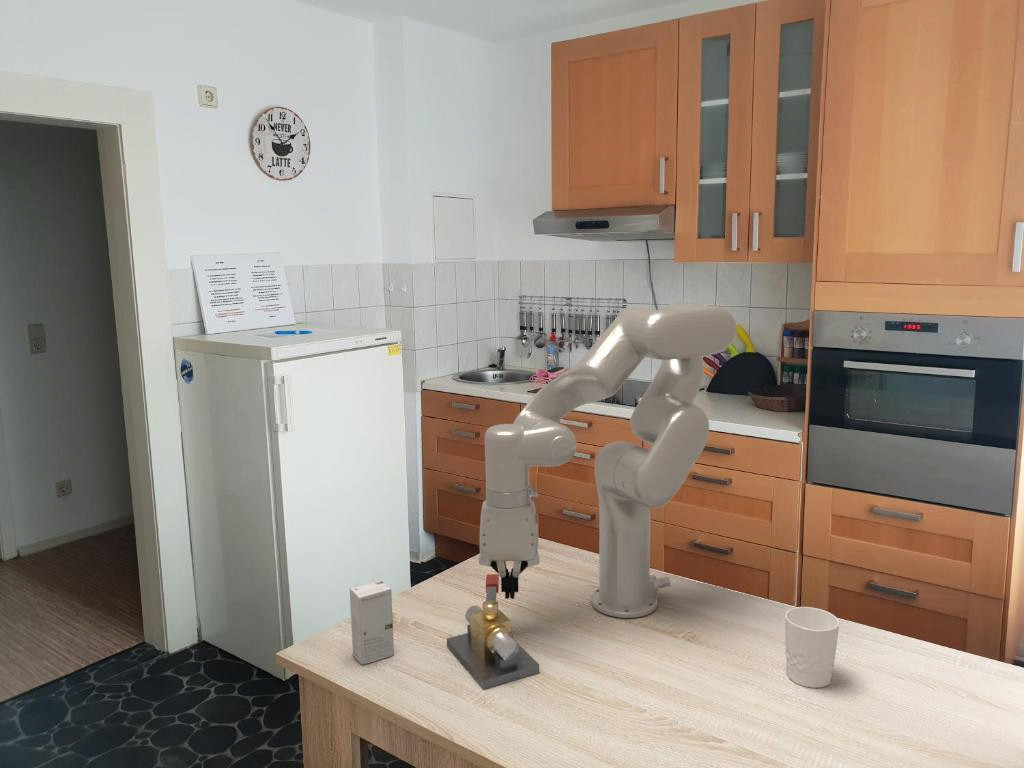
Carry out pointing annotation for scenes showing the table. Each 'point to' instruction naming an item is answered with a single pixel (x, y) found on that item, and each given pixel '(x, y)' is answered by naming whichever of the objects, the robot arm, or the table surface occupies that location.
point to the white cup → (810, 646)
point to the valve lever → (491, 597)
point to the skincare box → (371, 622)
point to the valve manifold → (491, 650)
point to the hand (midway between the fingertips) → (510, 595)
